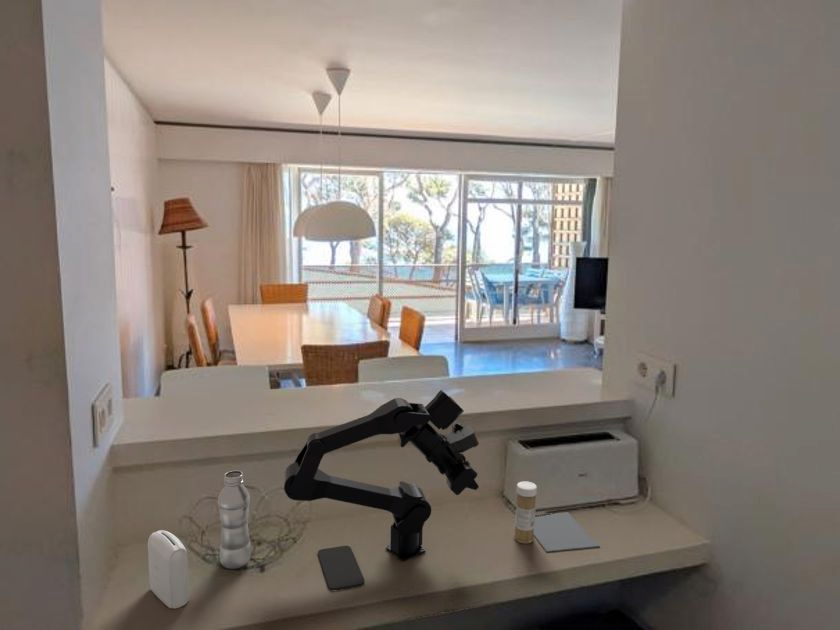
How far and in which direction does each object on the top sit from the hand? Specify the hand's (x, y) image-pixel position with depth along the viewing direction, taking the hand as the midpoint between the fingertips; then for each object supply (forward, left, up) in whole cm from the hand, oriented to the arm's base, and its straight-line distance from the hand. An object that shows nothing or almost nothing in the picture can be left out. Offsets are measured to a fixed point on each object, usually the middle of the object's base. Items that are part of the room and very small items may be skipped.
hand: (477, 487), depth 133 cm
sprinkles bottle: (+11, -5, -14) cm, 18 cm away
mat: (+20, -8, -14) cm, 26 cm away
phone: (-29, +10, -14) cm, 34 cm away
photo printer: (-60, +22, -14) cm, 66 cm away
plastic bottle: (-46, +24, -14) cm, 54 cm away
